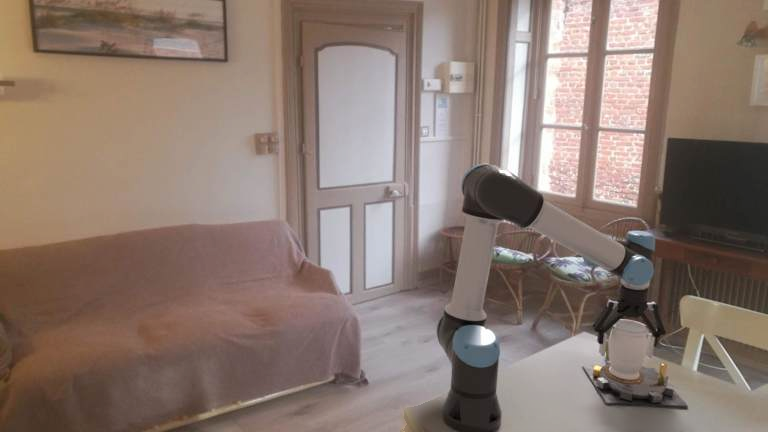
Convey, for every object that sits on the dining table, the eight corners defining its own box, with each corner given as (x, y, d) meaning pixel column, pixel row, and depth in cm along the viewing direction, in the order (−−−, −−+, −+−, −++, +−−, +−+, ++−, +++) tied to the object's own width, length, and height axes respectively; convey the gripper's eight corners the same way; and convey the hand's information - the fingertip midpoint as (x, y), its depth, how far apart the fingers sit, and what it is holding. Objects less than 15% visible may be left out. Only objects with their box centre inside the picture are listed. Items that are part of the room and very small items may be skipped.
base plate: (582, 367, 184) (582, 364, 184) (653, 370, 184) (654, 367, 183) (606, 405, 163) (606, 401, 162) (687, 408, 162) (688, 404, 162)
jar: (646, 384, 168) (653, 334, 164) (608, 380, 170) (614, 330, 166) (638, 367, 178) (645, 320, 175) (602, 363, 180) (608, 317, 176)
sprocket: (585, 388, 169) (588, 362, 167) (601, 359, 187) (604, 336, 186) (668, 410, 158) (672, 383, 157) (676, 378, 177) (680, 353, 175)
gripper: (594, 288, 164) (586, 358, 169) (685, 292, 164) (674, 362, 168) (586, 279, 172) (578, 347, 176) (673, 283, 171) (662, 351, 176)
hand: (625, 355), depth 172 cm, fingers open, 13 cm apart
